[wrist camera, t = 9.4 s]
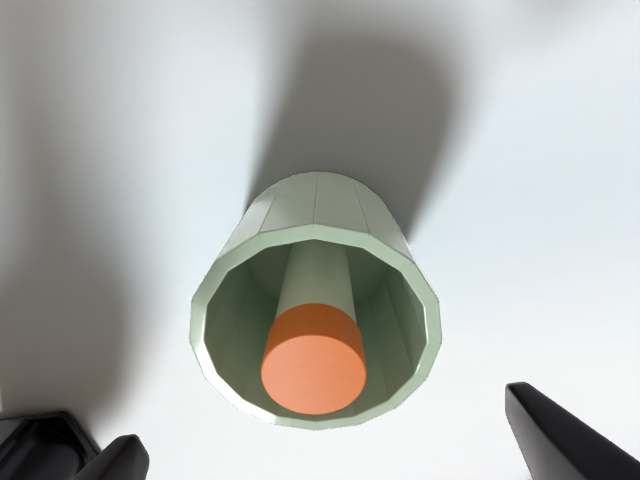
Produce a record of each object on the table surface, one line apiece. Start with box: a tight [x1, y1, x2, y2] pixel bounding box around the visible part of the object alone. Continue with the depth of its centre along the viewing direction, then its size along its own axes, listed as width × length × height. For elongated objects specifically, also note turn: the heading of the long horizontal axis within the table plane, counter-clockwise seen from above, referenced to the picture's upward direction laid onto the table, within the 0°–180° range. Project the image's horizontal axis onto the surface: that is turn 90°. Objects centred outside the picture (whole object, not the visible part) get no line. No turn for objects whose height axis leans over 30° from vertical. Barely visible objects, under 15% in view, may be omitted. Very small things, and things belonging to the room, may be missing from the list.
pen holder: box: [189, 172, 442, 430], centre depth 14 cm, size 8×8×7 cm
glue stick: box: [261, 239, 367, 414], centre depth 13 cm, size 3×3×8 cm
